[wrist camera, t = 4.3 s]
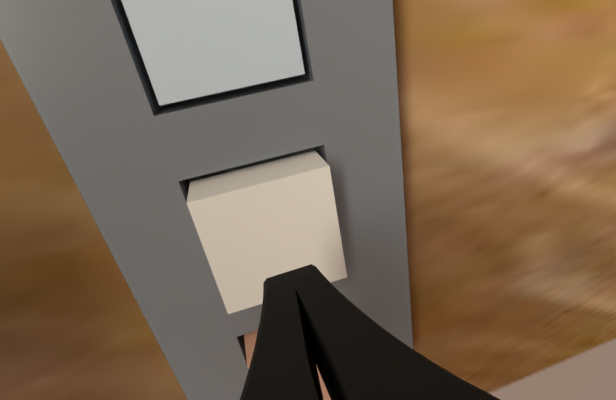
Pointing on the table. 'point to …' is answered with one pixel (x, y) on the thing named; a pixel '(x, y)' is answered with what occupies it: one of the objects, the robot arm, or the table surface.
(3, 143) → the table surface
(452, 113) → the table surface
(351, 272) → the key console
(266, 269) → the off-white key
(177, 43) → the pale blue key
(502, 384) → the table surface
